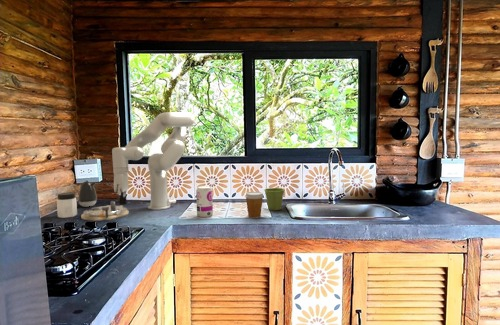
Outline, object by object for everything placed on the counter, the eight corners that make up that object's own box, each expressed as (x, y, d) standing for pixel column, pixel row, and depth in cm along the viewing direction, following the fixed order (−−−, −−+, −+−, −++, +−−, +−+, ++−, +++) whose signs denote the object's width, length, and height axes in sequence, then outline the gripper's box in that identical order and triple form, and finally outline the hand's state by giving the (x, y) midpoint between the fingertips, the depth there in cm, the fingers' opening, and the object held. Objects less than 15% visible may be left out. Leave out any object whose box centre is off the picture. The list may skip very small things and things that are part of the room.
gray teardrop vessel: (92, 207, 188) (91, 182, 187) (75, 208, 189) (73, 182, 187) (100, 204, 199) (99, 179, 197) (84, 204, 199) (82, 180, 198)
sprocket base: (126, 208, 186) (125, 199, 186) (131, 217, 166) (130, 207, 165) (81, 213, 176) (81, 203, 175) (81, 223, 155) (80, 212, 155)
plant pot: (279, 206, 188) (279, 187, 187) (288, 210, 177) (288, 190, 176) (261, 207, 185) (260, 188, 184) (268, 212, 173) (268, 191, 173)
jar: (58, 218, 164) (56, 195, 163) (57, 215, 170) (56, 193, 170) (77, 216, 169) (76, 193, 168) (76, 213, 175) (75, 191, 174)
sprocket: (134, 210, 174) (134, 198, 174) (100, 219, 157) (99, 206, 156) (110, 206, 185) (109, 195, 184) (75, 214, 167) (74, 202, 166)
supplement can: (215, 214, 170) (215, 186, 169) (207, 218, 162) (206, 188, 161) (202, 213, 173) (202, 185, 172) (193, 216, 166) (193, 187, 165)
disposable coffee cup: (252, 213, 172) (252, 191, 171) (267, 215, 167) (267, 192, 166) (241, 216, 164) (241, 193, 163) (256, 219, 159) (256, 195, 158)
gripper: (118, 169, 178) (121, 201, 180) (108, 172, 163) (110, 207, 165) (132, 168, 179) (134, 201, 180) (123, 172, 164) (125, 207, 166)
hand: (123, 204), depth 173 cm, fingers closed
